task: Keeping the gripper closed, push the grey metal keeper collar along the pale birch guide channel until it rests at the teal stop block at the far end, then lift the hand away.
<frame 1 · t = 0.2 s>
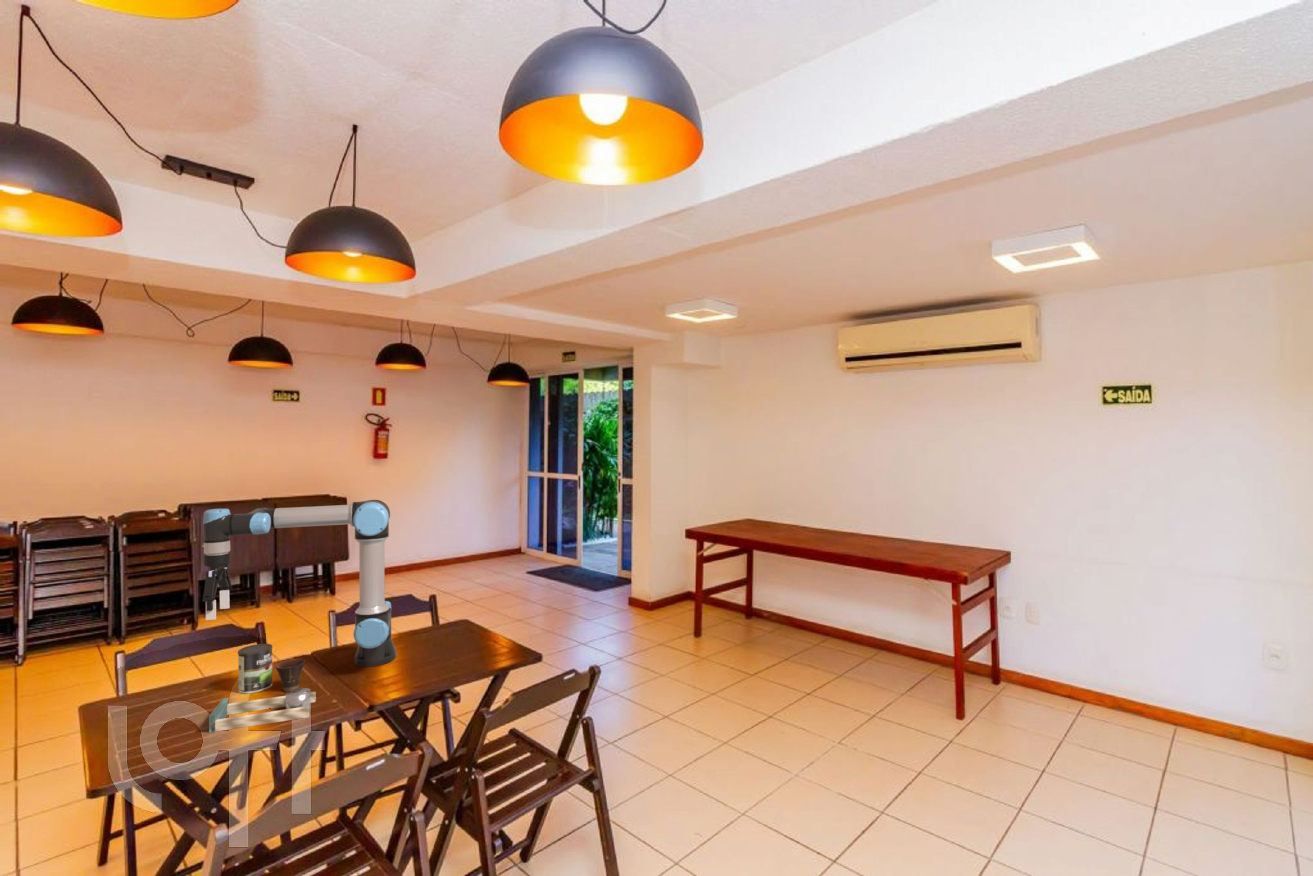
hand: (218, 614, 209), 28 cm above the table, fingers open, 13 cm apart
coffee can: (255, 688, 214), on the table
keeper: (298, 710, 196), on the table
channel: (266, 715, 193), on the table
cup: (290, 689, 213), on the table
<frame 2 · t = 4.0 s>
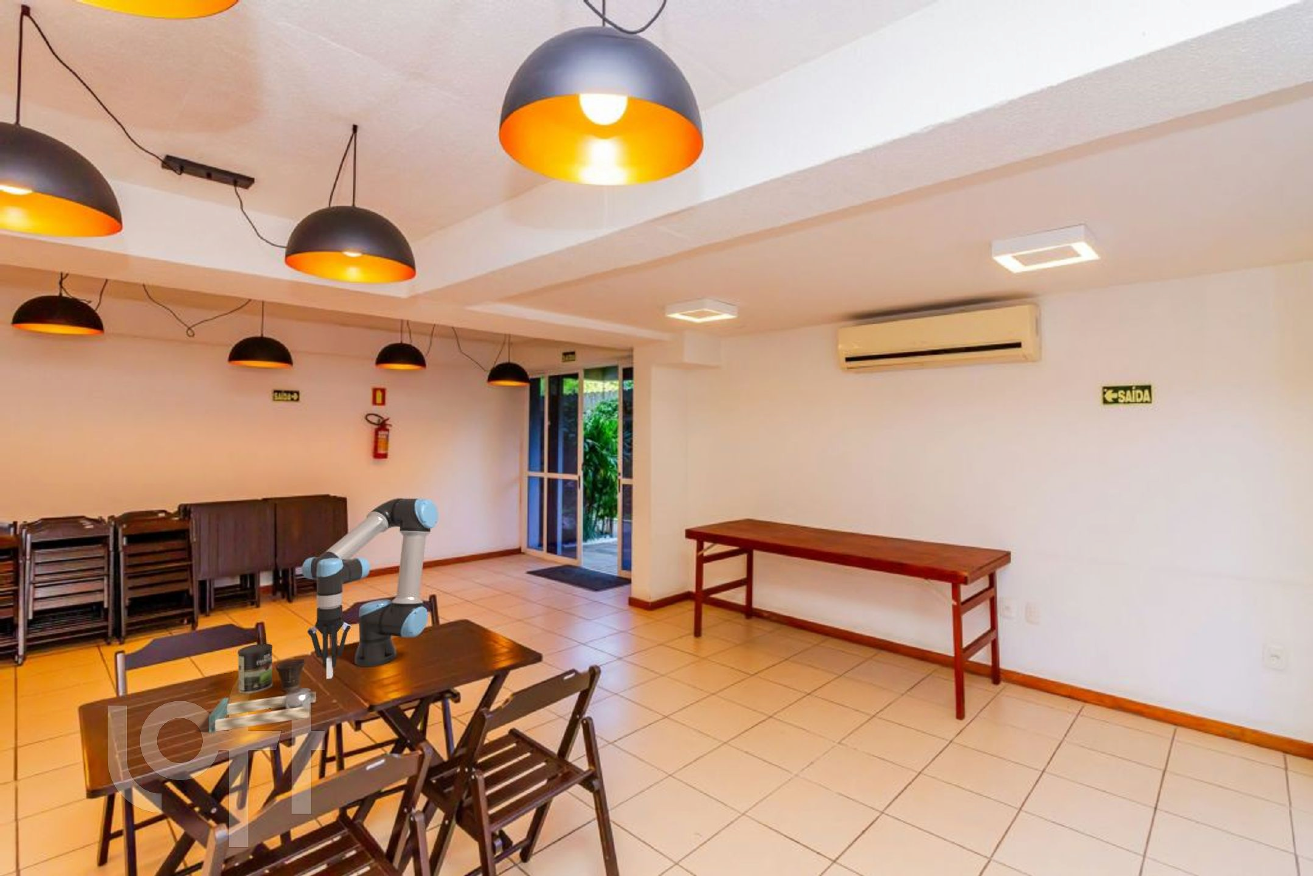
hand: (329, 677, 199), 10 cm above the table, fingers closed
nothing on the table moved.
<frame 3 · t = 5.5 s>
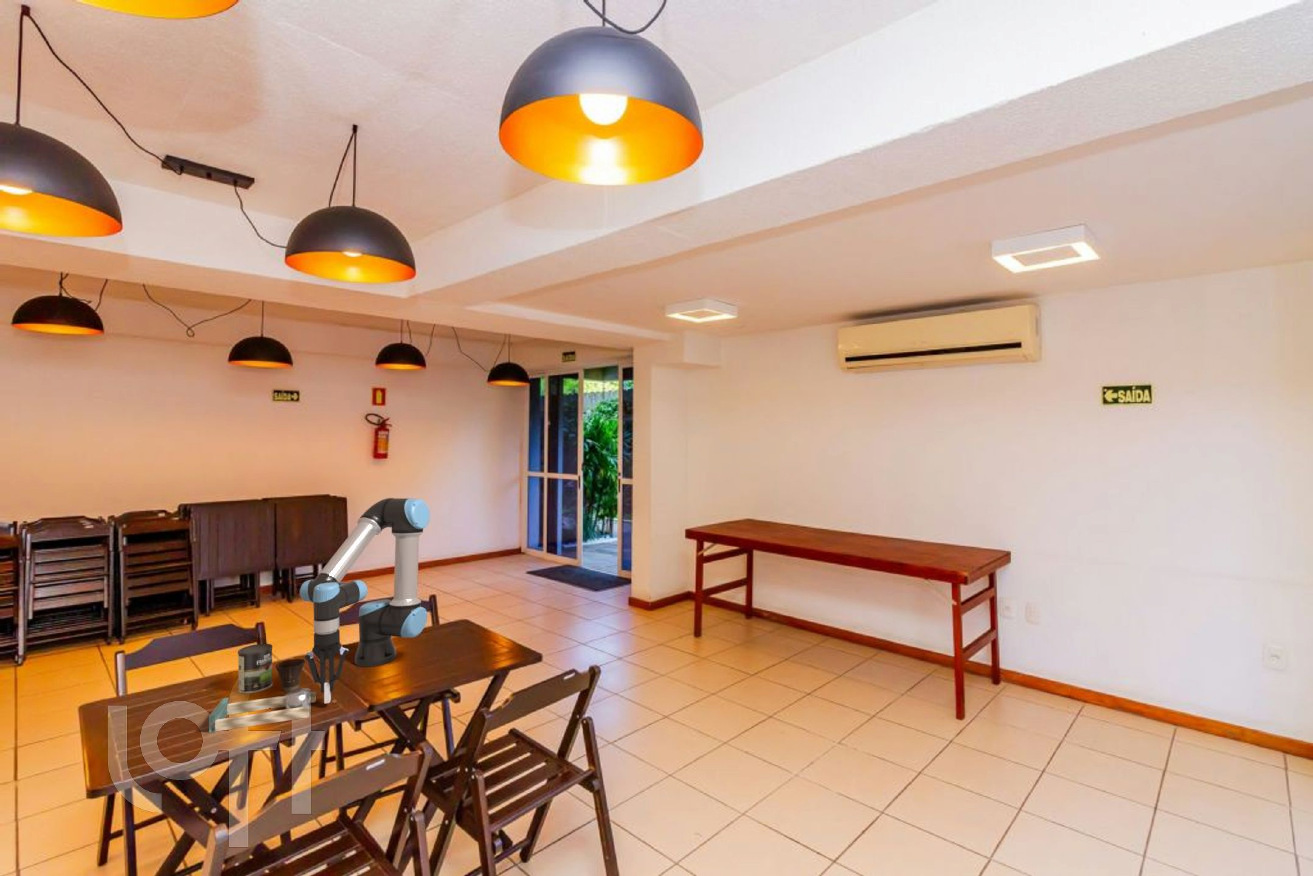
hand: (327, 701, 199), 2 cm above the table, fingers closed
nothing on the table moved.
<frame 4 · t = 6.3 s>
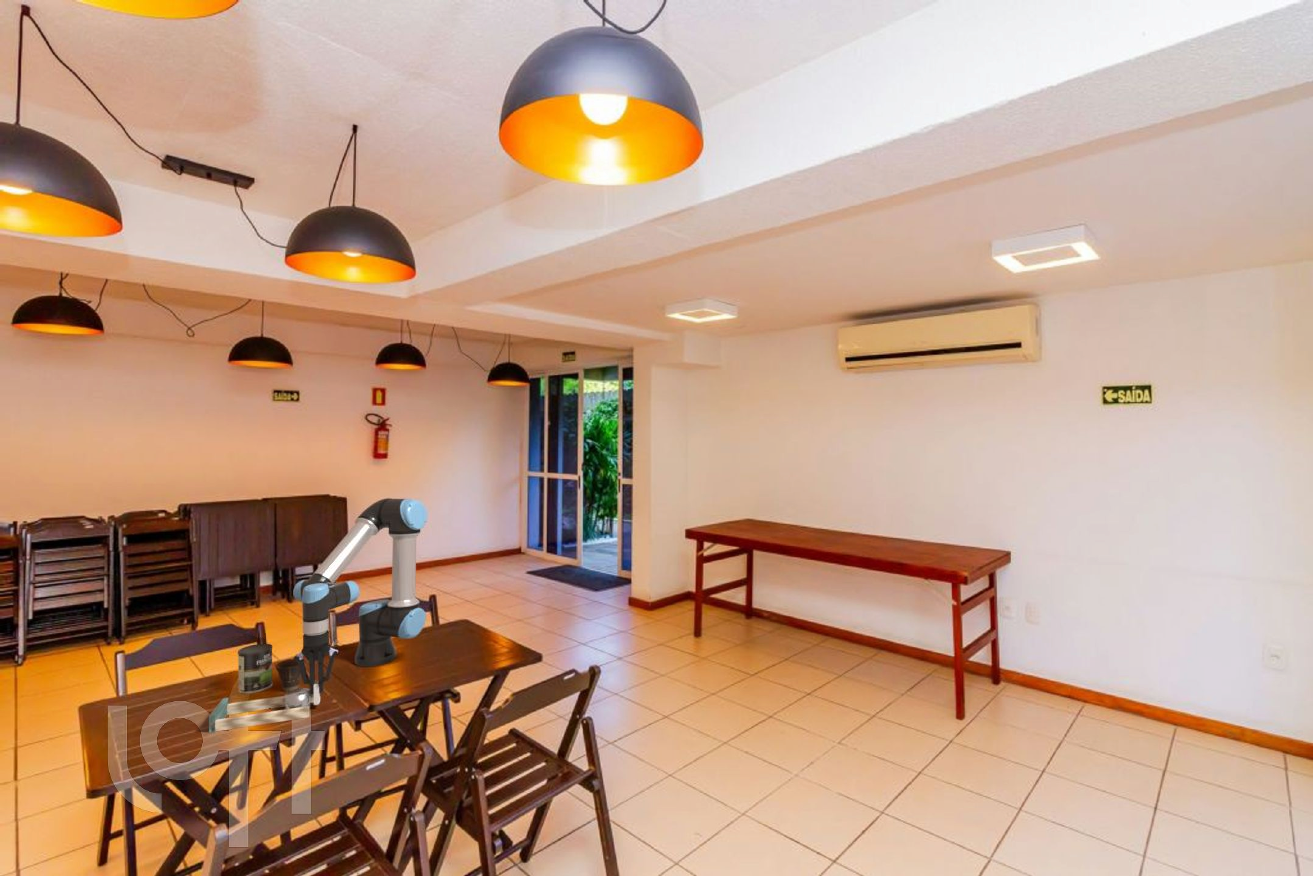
hand: (317, 702, 198), 2 cm above the table, fingers closed
keeper: (297, 710, 196), on the table, touching gripper
everything else where it was.
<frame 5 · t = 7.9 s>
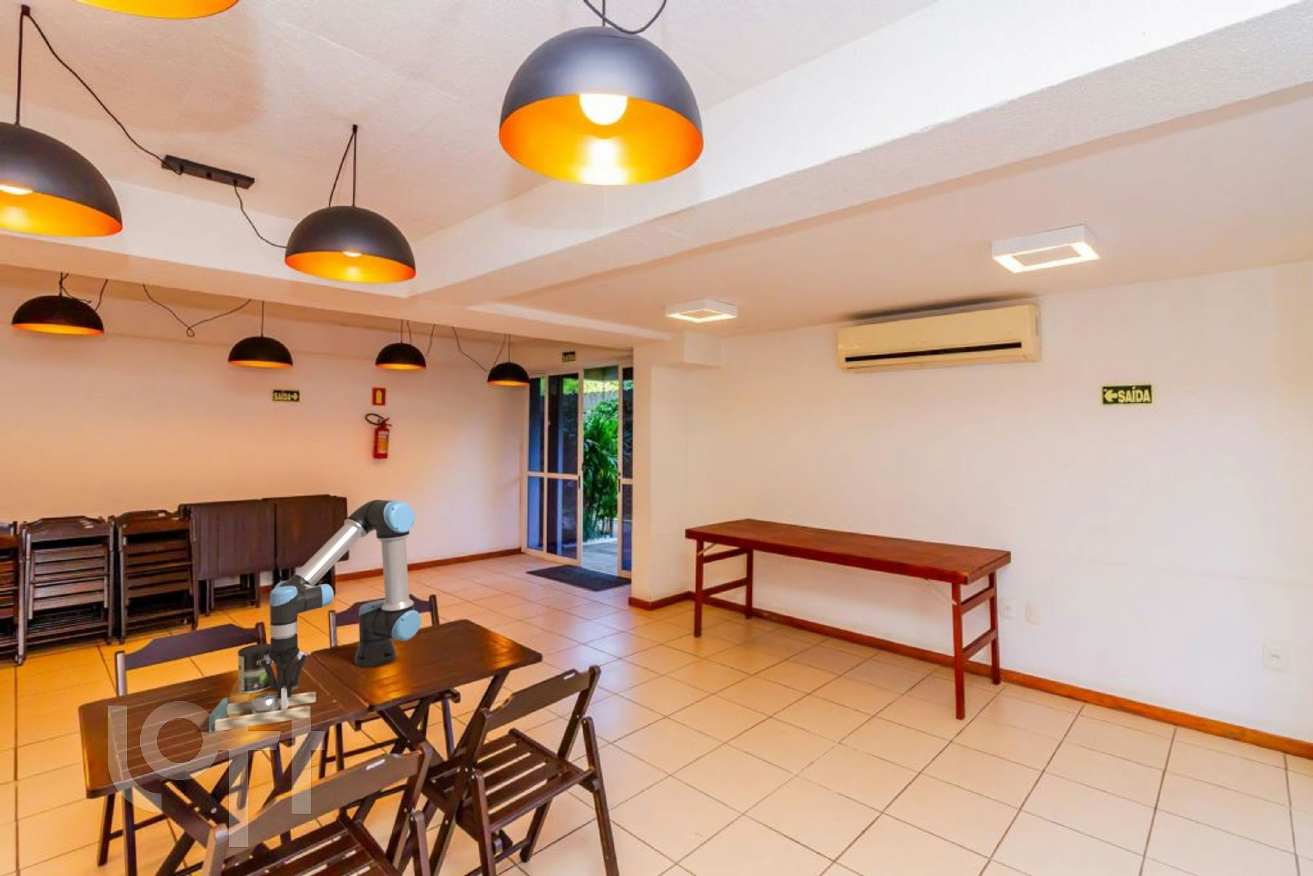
hand: (285, 707, 195), 2 cm above the table, fingers closed
keeper: (265, 715, 193), on the table, touching gripper
everything else where it was.
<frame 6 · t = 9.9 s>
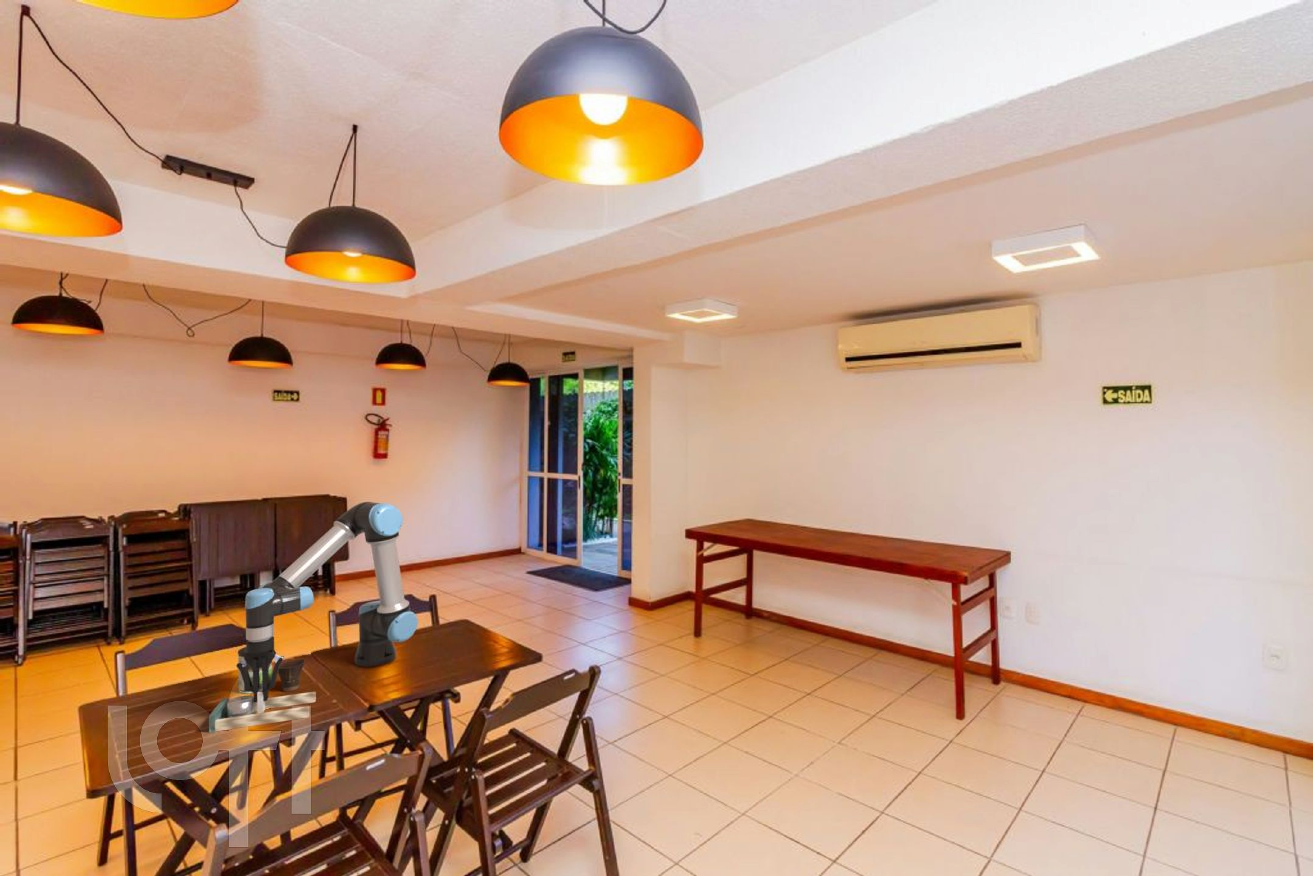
hand: (261, 711, 192), 2 cm above the table, fingers closed
keeper: (241, 719, 191), on the table, touching gripper
everything else where it was.
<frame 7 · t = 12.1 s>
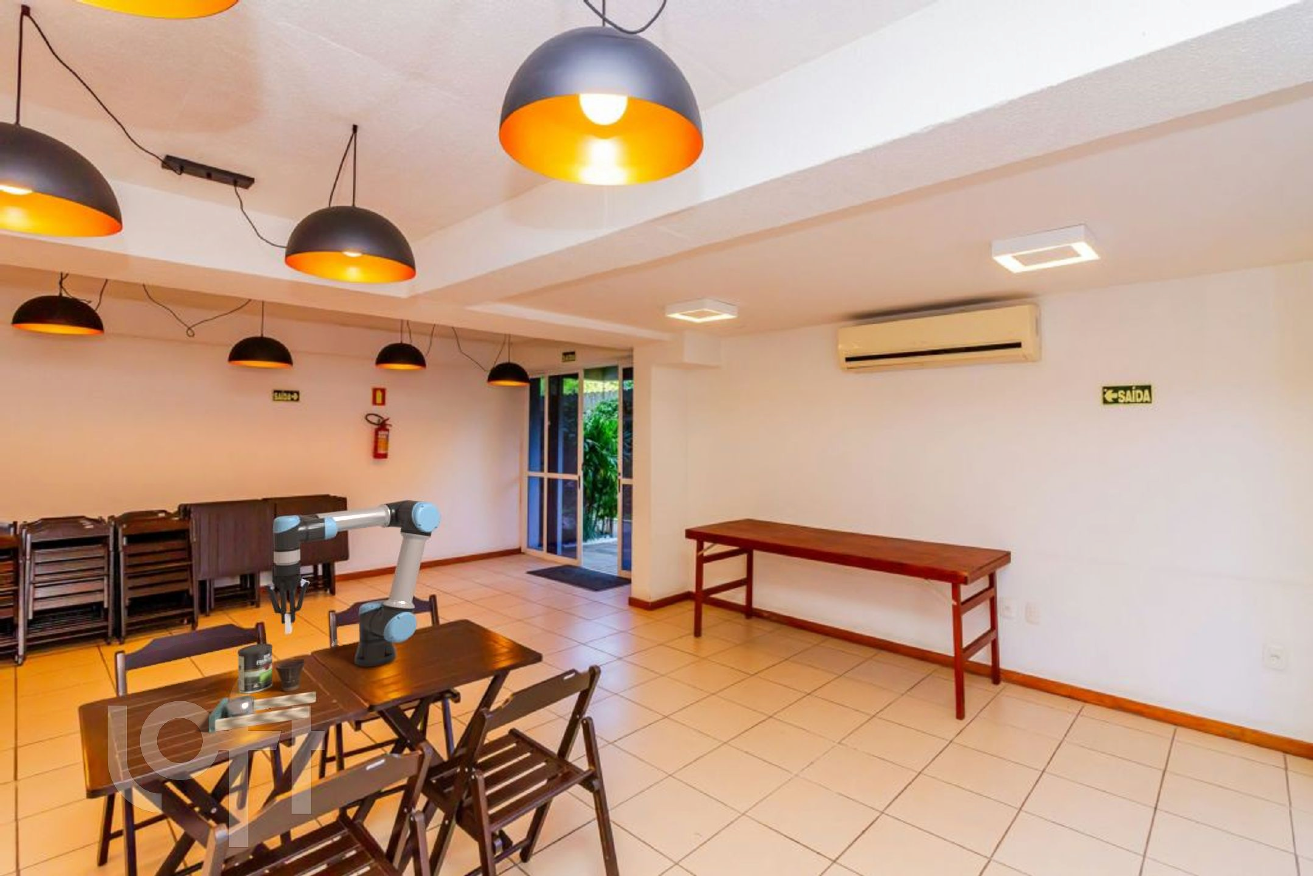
hand: (288, 632, 201), 24 cm above the table, fingers closed
keeper: (241, 719, 191), on the table
everything else where it was.
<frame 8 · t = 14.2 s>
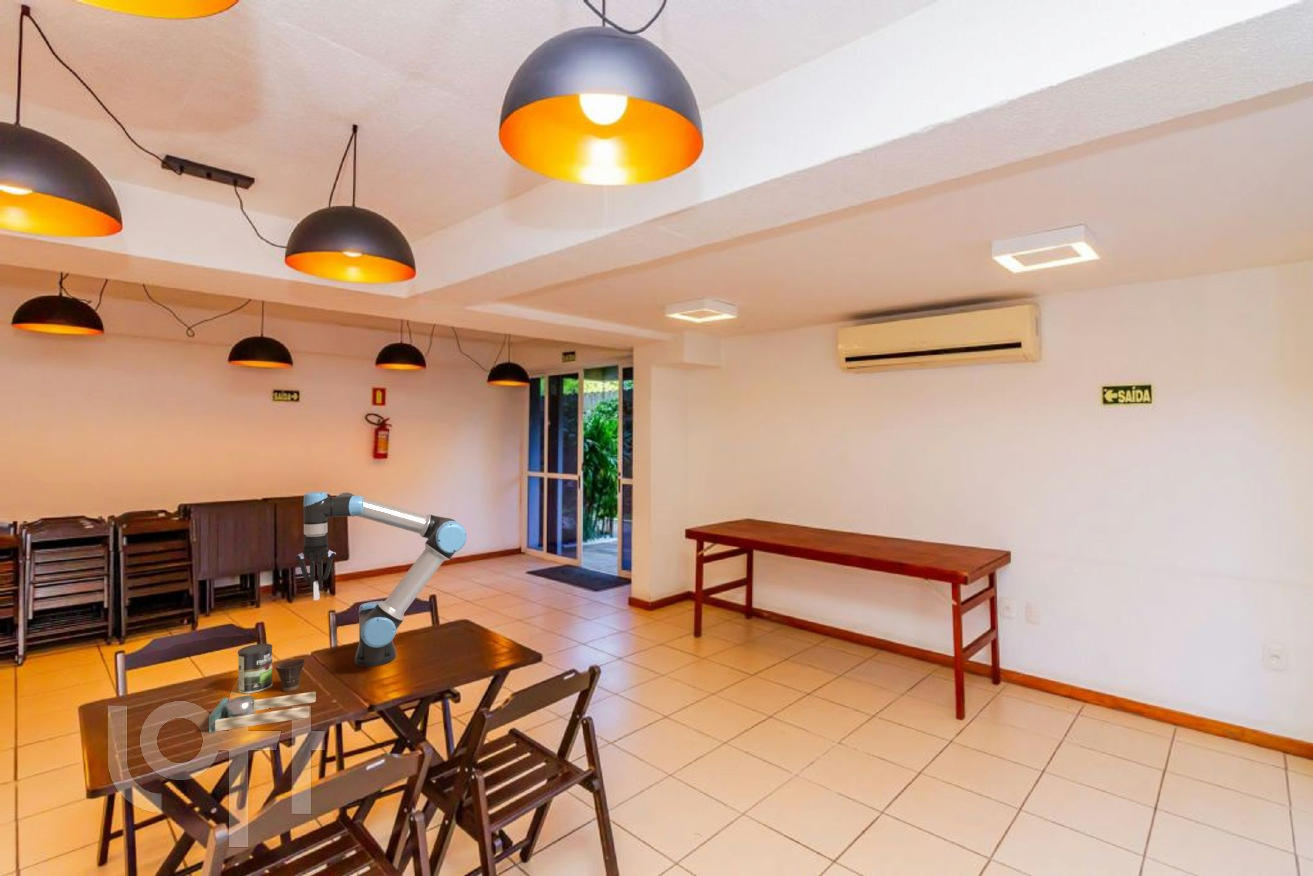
hand: (316, 599, 218), 30 cm above the table, fingers closed
nothing on the table moved.
at the end: keeper inside the target area on the channel (0.3 cm from its centre), point 0.0 cm above the channel's base; keeper tilted 0°; the gripper is holding nothing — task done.
